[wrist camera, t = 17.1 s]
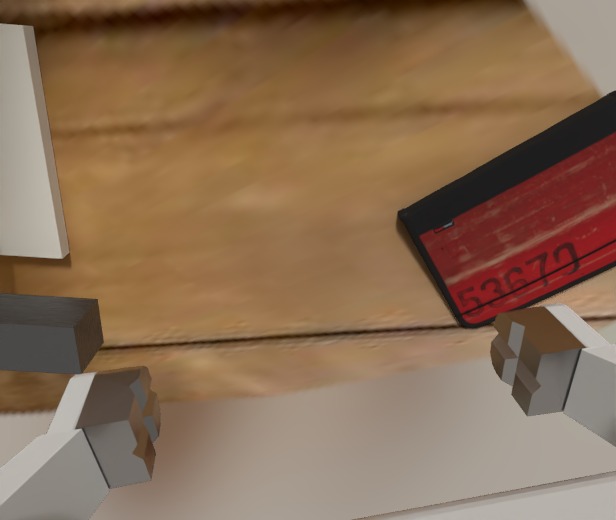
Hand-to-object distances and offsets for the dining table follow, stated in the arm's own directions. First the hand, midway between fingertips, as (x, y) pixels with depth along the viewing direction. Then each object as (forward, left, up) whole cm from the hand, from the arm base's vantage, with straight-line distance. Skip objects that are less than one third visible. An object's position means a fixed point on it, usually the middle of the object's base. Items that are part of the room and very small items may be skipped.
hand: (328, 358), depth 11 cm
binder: (+19, +13, -34) cm, 41 cm away
